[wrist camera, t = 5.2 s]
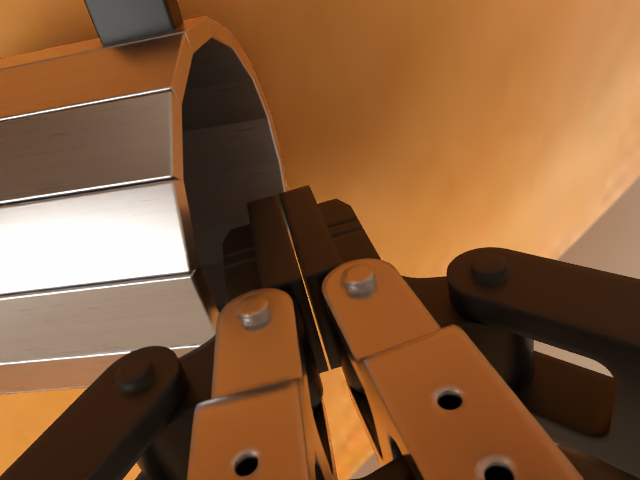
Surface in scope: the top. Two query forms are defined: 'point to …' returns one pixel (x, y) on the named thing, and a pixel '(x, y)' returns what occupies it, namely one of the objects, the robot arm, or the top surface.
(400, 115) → the top surface
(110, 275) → the pot
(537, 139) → the top surface
